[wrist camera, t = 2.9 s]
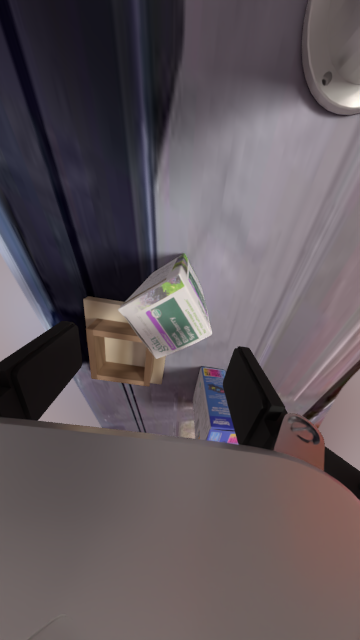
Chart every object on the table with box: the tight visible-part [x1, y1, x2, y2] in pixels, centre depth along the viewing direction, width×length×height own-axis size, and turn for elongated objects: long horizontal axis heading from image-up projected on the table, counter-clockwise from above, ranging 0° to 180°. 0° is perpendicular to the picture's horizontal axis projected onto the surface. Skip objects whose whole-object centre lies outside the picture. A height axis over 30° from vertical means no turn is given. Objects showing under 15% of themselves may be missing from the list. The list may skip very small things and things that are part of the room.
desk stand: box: [83, 296, 166, 386], centre depth 29 cm, size 14×16×5 cm
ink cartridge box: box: [193, 367, 239, 445], centre depth 29 cm, size 10×6×14 cm, turn 173°
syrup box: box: [118, 253, 212, 359], centre depth 19 cm, size 6×6×14 cm
